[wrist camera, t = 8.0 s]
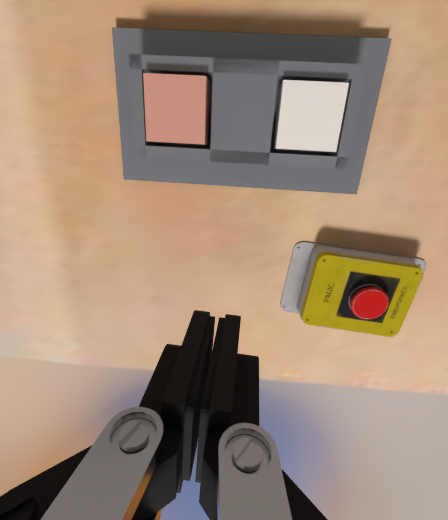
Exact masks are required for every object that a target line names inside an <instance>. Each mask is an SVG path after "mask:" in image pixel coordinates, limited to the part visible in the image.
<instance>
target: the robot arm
mask: <svg viewBox="0 0 448 520" xmlns="http://www.w3.org/2000/svg"><path fill="white" fill-rule="evenodd" d="M240 319H241V316H236V315H228V314H226V316H225V318H219V322H218V327H217V332H216V336H215V341H214V346H213V336H214V324H215V317H212V316H210V312H205V311H197V310H195V311H194V313H193V316H192V318H191V321H190V324H189V327H188V329H187V332H186V335H185V338H184V340H183V343H182V346H178V345H171V344H167V345H166V346H165V348H164V350H163V352H162V355H161V357H160V359H159V362H158V364H157V366H156V368H155V371H154V373H153V375H152V378H151V380H150V382H149V385H148V387H147V389H146V391H145V394H144V396H143V398H142V400H141V403H140V405H139V407H133V408H129V409H126V410H124V411H122V412H120V413H119V414H117V415H116V416H114V417H113V418H112V420H111V421H110V422H109V423H108V424H107V425H106V427H105V428H104V430H103V431H102V433H101V434H100V435H99V437H98V438H97V440H96V441H95V443H94V444H93V445H92V446H90V447H88V448H86V449H85V450H83V451H81V452H79V453H77V454H75V455H74V456H72V457H70V458H68V459H66V460H64V461H62V462H61V463H59V464H57V465H55V466H53V467H52V468H50V469H48V470H46V471H44V472H42V473H40V474H39V475H37V476H35V477H33V478H31V479H29V480H28V481H26V482H24V483H22V484H20V485H18V486H17V487H15V488H13V489H11V490H10V491H8V492H7V493H5V494H4V495H2V496H1V497H0V520H160V517H161V514H162V510H163V507H165V506H166V505H167V504H169V503H170V502H171V501H173V500H174V499H175V498H176V493H177V492H178V493H180V491H181V487H182V482H183V480H187V481H189V480H190V477H191V472H192V467H193V462H194V457H195V452H196V446H197V441H198V452H197V453H198V454H197V467H196V480H195V481H196V482H199V483H201V486H200V499H199V503H200V505H201V506H202V508H203V509H204V511H205V513H206V514H207V516H208V518H209V519H210V520H327V519H326V518H325V516H323V514H322V513H321V512H320V511H319V510H318V509H317V508H316V506H314V504H313V503H312V502H311V501H310V500H309V499H308V498H307V497H306V496H305V494H304V493H303V492H302V491H301V490H300V489H299V488H298V487H297V485H296V484H295V483H294V482H293V481H292V480H291V479H290V478H289V477H288V475H287V474H285V472H284V471H283V470H282V469H281V464H280V460H279V455H278V451H277V447H276V445H275V442H274V440H273V439H272V437H271V436H270V435H269V433H267V432H266V431H265V430H264V429H262V428H261V427H259V357H258V356H251V355H244V354H237V352H238V341H239V330H240ZM212 348H213V351H212ZM198 437H199V438H198ZM198 439H199V440H198Z"/></svg>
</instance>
